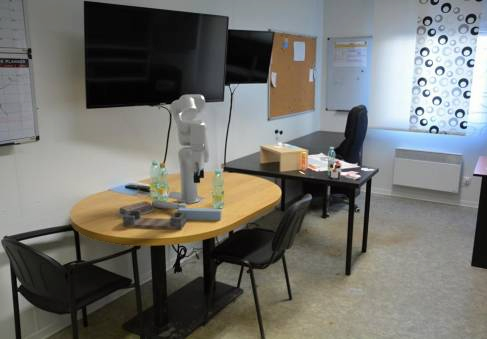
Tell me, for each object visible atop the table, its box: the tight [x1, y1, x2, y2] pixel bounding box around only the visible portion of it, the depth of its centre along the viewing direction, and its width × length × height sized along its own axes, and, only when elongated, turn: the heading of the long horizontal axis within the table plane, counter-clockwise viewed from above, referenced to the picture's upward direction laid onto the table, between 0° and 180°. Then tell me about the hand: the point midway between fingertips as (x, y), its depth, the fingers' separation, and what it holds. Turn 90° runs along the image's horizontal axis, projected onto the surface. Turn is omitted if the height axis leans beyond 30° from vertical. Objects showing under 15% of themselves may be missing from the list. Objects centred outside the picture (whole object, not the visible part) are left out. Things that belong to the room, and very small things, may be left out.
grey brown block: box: [115, 201, 155, 219], centre depth 228 cm, size 18×5×10 cm
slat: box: [177, 207, 222, 221], centre depth 220 cm, size 22×4×5 cm, turn 86°
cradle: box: [122, 210, 187, 231], centre depth 211 cm, size 29×10×6 cm, turn 84°
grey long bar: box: [151, 199, 188, 212], centre depth 231 cm, size 5×7×25 cm
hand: (198, 180), depth 216 cm, fingers open, 9 cm apart
